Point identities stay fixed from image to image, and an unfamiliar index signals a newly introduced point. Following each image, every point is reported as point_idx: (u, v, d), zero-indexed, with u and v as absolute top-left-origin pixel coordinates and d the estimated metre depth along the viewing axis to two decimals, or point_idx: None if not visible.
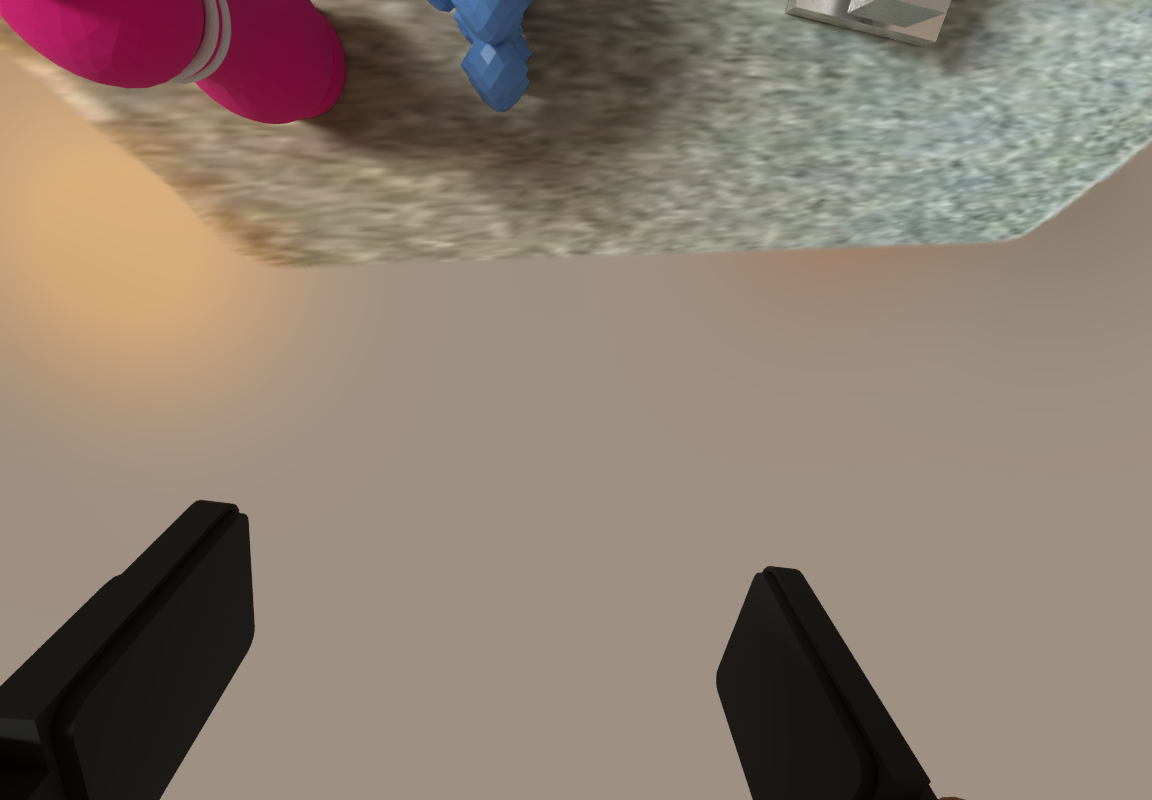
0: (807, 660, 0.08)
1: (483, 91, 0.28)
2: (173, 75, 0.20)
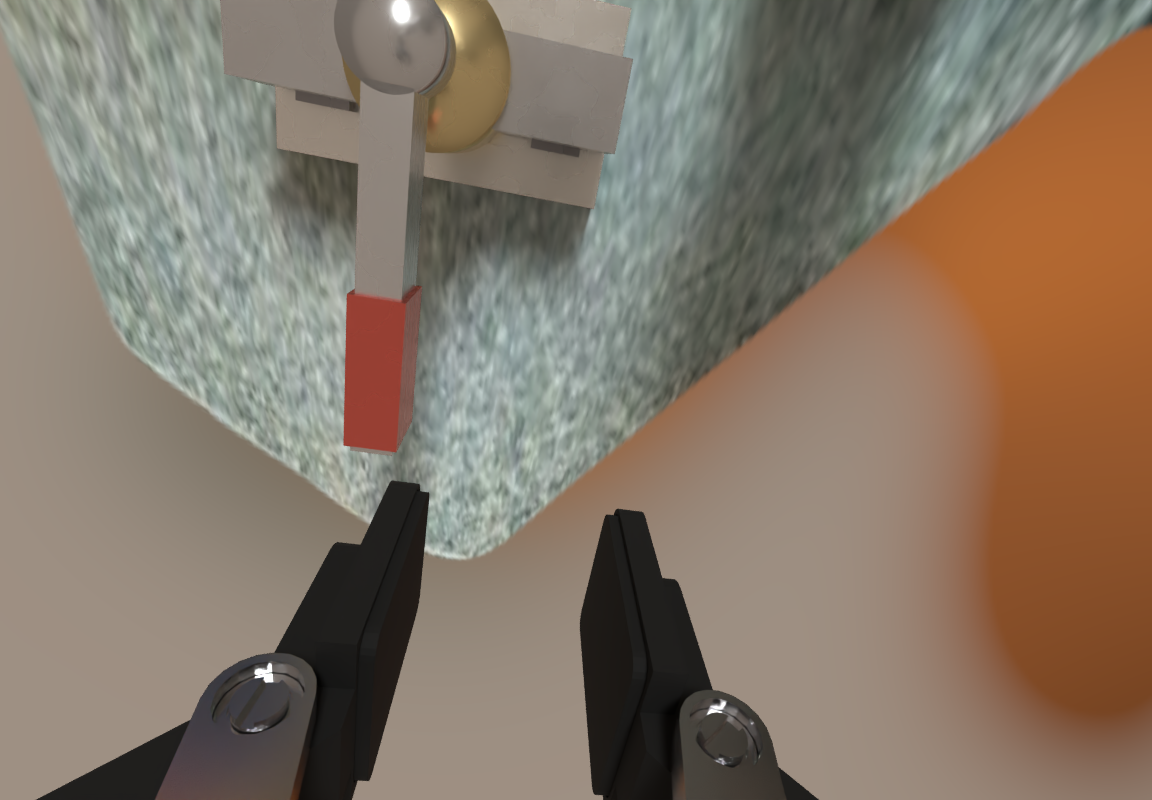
0: (621, 583, 0.09)
1: None
2: None
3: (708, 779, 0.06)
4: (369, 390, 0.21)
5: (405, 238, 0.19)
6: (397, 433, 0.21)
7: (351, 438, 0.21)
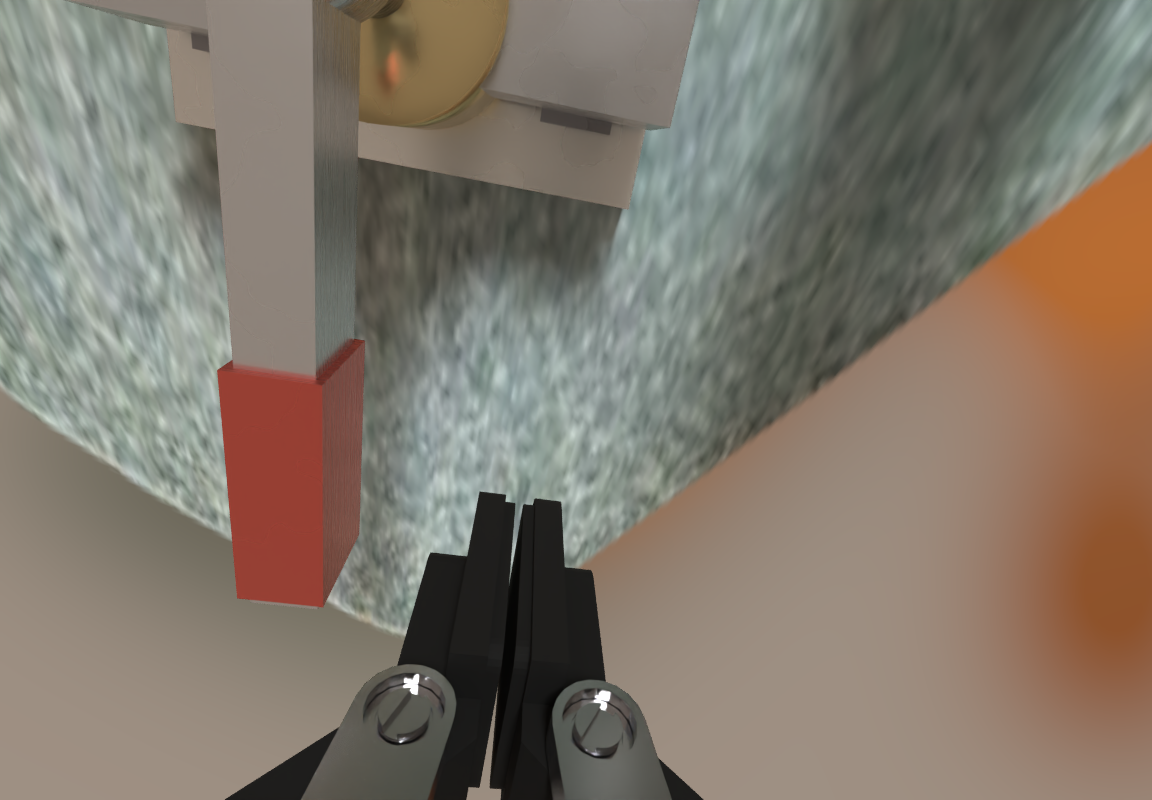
0: (522, 572, 0.09)
1: None
2: None
3: (587, 780, 0.06)
4: (270, 519, 0.12)
5: (315, 274, 0.10)
6: (323, 580, 0.13)
7: (248, 588, 0.13)
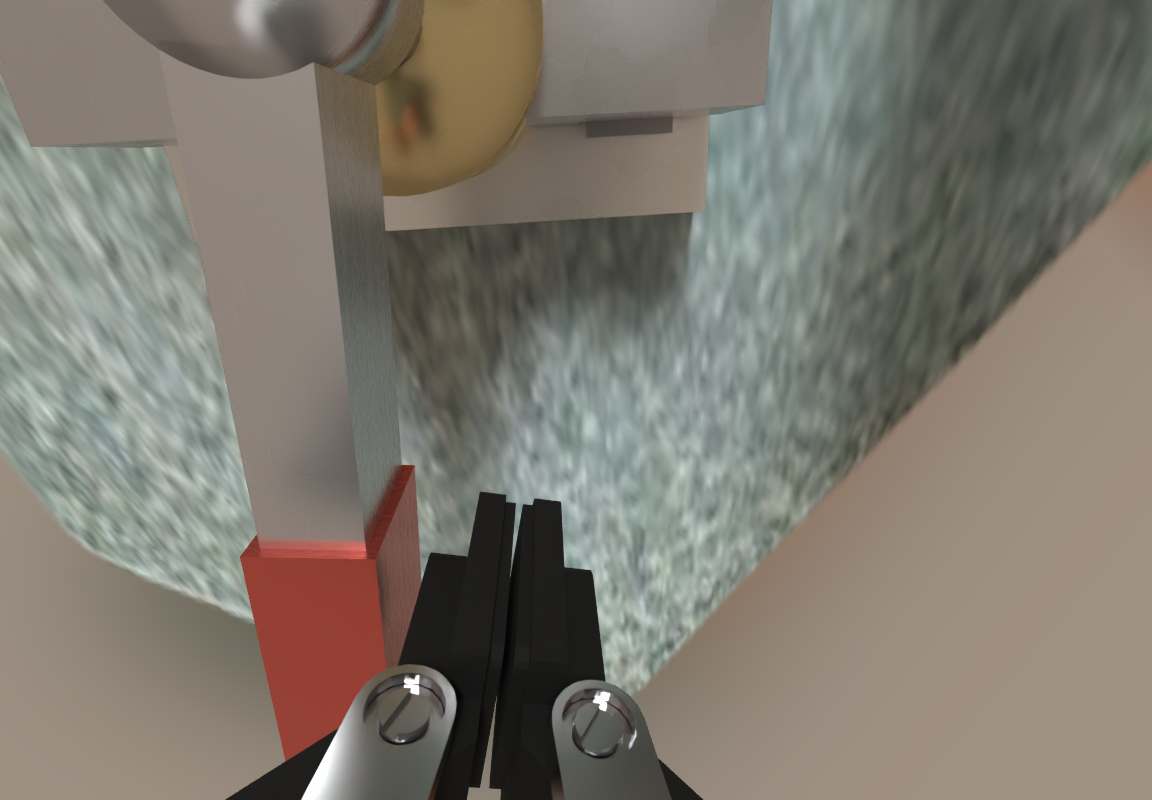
0: (522, 572, 0.09)
1: None
2: None
3: (587, 780, 0.06)
4: (325, 714, 0.10)
5: (353, 424, 0.08)
6: None
7: None
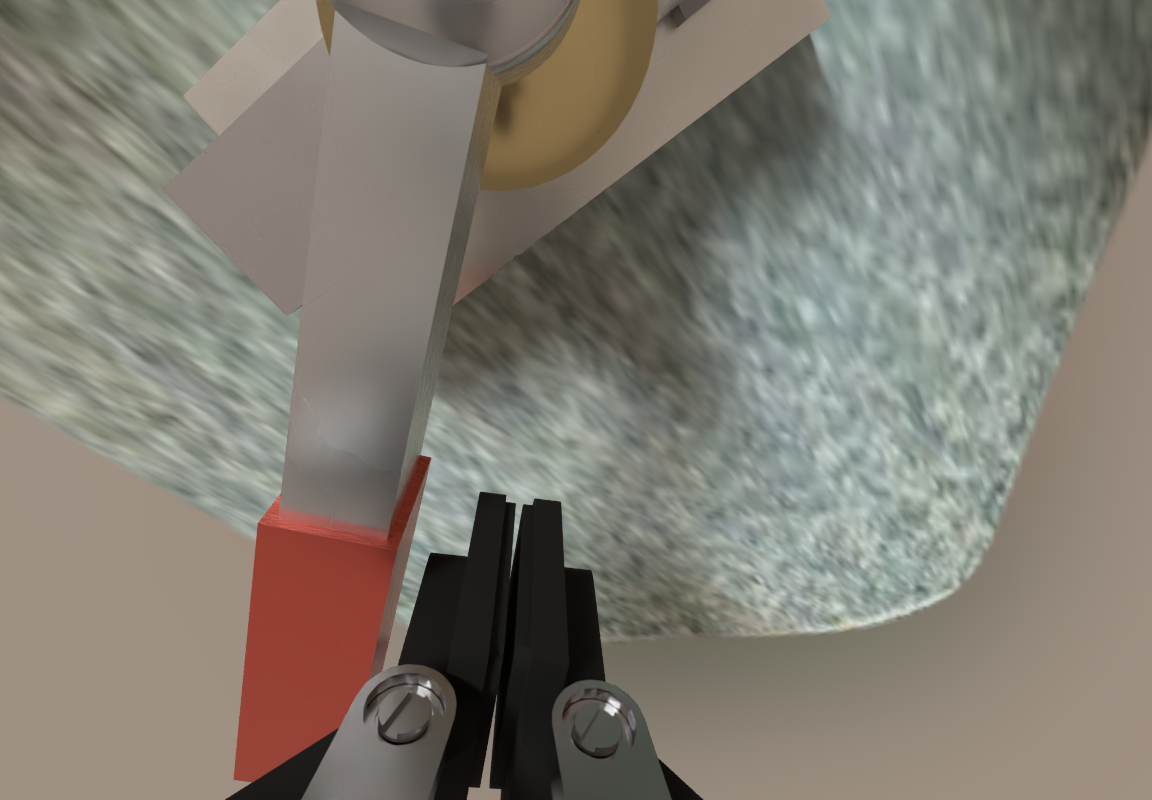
0: (521, 572, 0.09)
1: None
2: None
3: (587, 780, 0.06)
4: (295, 697, 0.10)
5: (413, 415, 0.08)
6: None
7: (251, 769, 0.10)
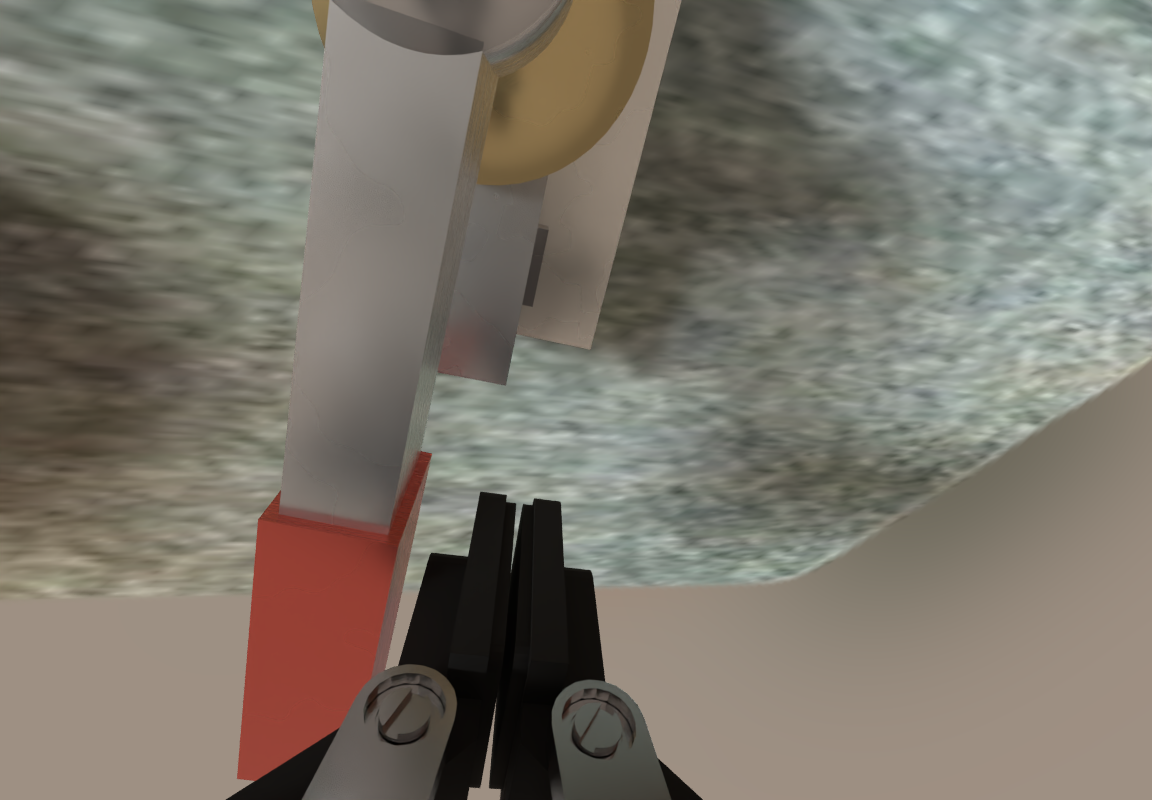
0: (521, 573, 0.09)
1: None
2: None
3: (587, 779, 0.06)
4: (298, 694, 0.09)
5: (412, 408, 0.08)
6: None
7: (254, 768, 0.10)
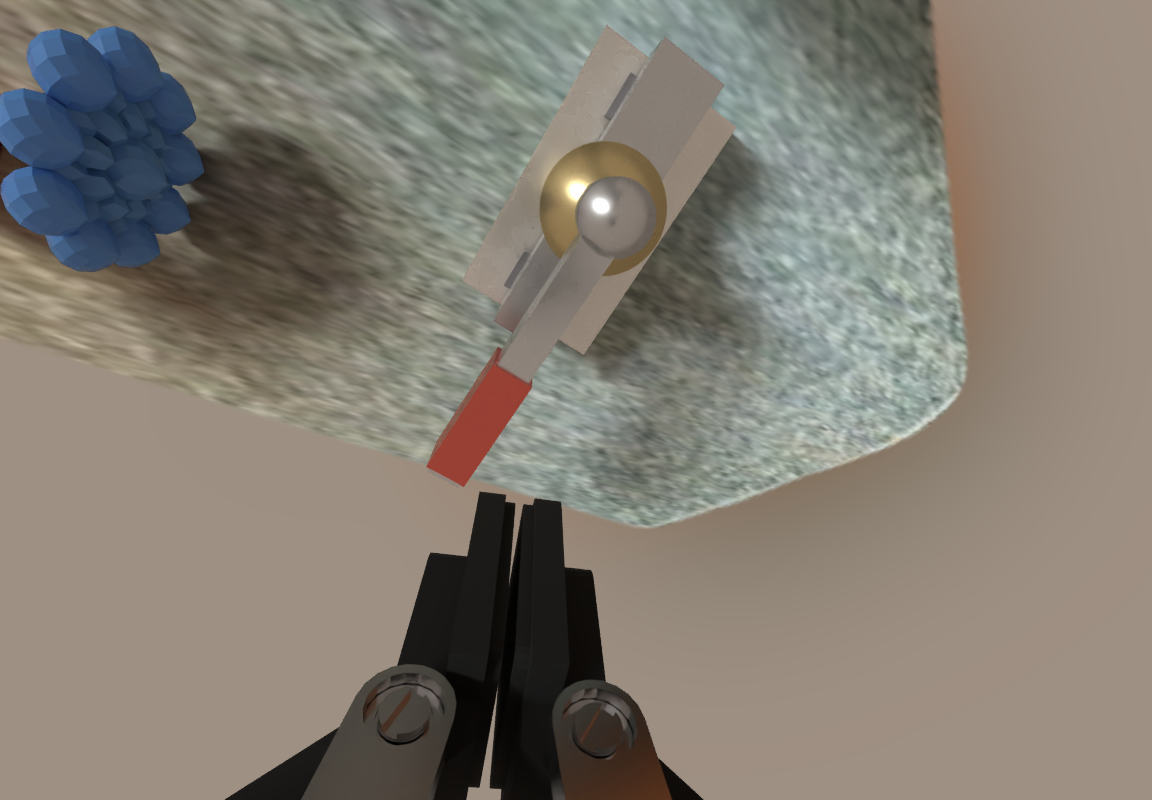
0: (522, 572, 0.09)
1: None
2: None
3: (587, 779, 0.06)
4: (469, 435, 0.25)
5: (554, 344, 0.24)
6: (472, 473, 0.26)
7: (435, 463, 0.26)
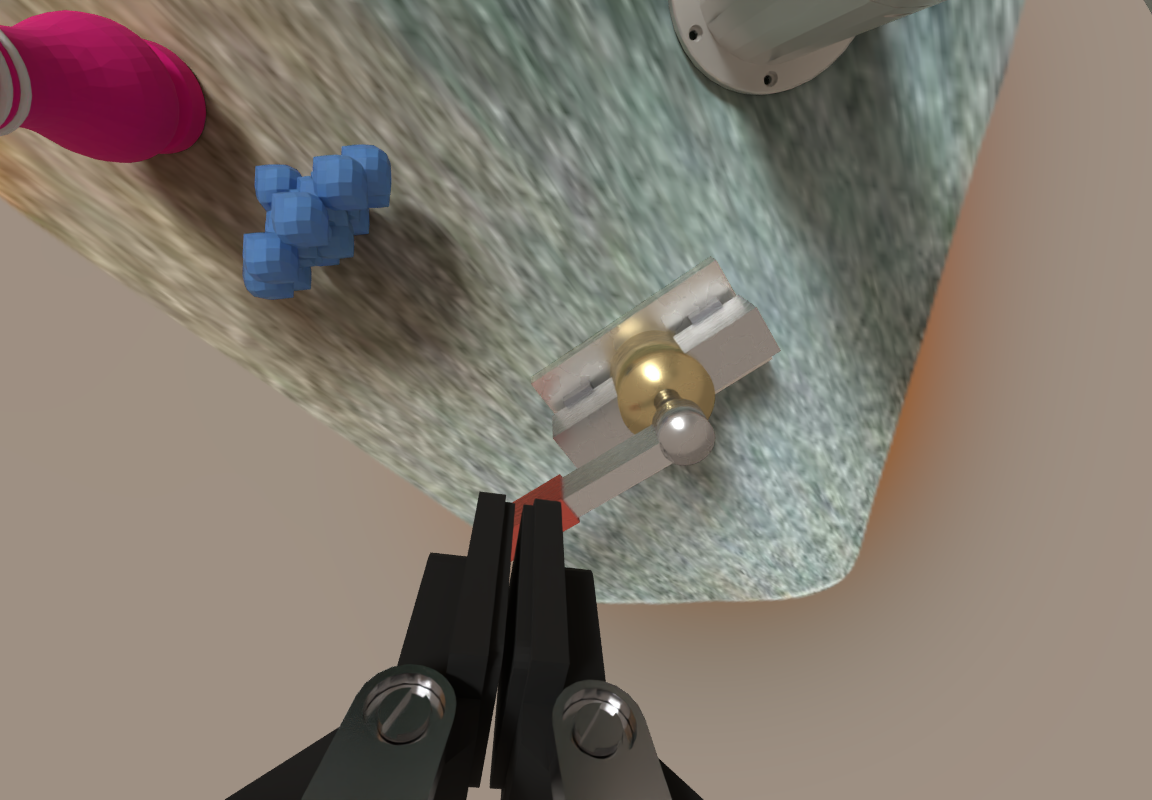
0: (522, 573, 0.09)
1: (245, 284, 0.32)
2: None
3: (587, 779, 0.06)
4: None
5: (608, 499, 0.33)
6: None
7: None
